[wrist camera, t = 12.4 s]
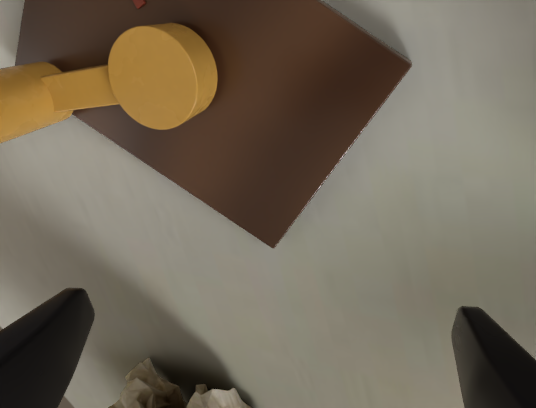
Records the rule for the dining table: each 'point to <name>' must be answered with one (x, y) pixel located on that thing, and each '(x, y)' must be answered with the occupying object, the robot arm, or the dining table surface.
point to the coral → (170, 393)
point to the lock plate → (236, 95)
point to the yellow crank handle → (116, 83)
